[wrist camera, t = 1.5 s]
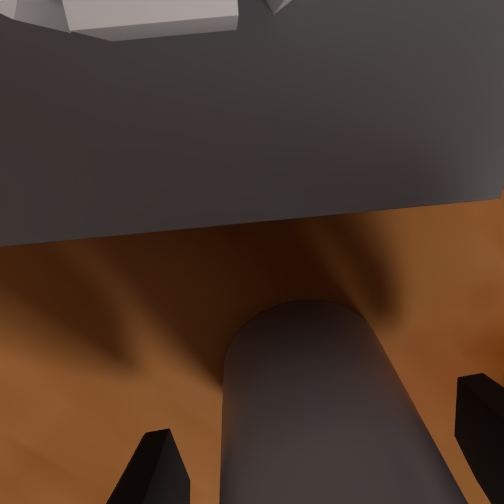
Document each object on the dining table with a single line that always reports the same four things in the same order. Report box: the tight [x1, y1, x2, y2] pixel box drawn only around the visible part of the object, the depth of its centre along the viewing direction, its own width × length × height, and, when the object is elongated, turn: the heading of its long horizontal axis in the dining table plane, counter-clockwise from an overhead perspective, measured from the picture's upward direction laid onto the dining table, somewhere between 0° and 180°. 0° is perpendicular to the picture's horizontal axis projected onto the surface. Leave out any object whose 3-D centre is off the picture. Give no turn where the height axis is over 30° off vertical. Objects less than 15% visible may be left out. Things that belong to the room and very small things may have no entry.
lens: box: [219, 300, 468, 504], centre depth 9 cm, size 5×5×7 cm
